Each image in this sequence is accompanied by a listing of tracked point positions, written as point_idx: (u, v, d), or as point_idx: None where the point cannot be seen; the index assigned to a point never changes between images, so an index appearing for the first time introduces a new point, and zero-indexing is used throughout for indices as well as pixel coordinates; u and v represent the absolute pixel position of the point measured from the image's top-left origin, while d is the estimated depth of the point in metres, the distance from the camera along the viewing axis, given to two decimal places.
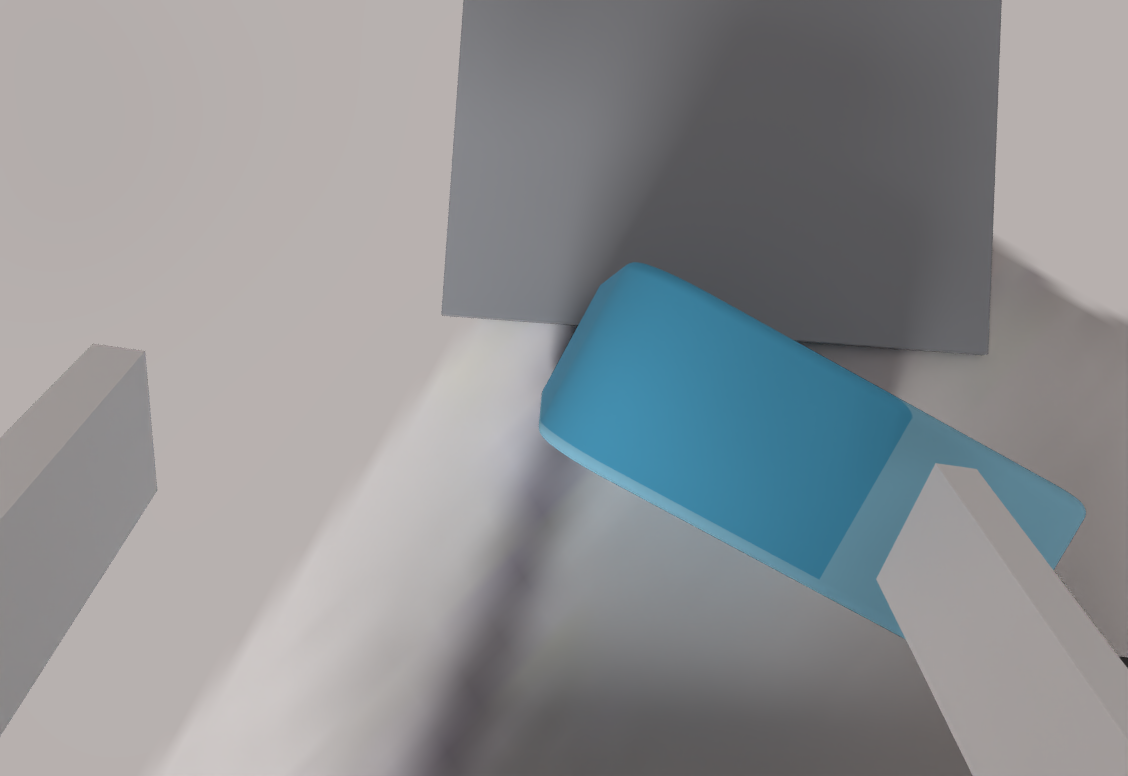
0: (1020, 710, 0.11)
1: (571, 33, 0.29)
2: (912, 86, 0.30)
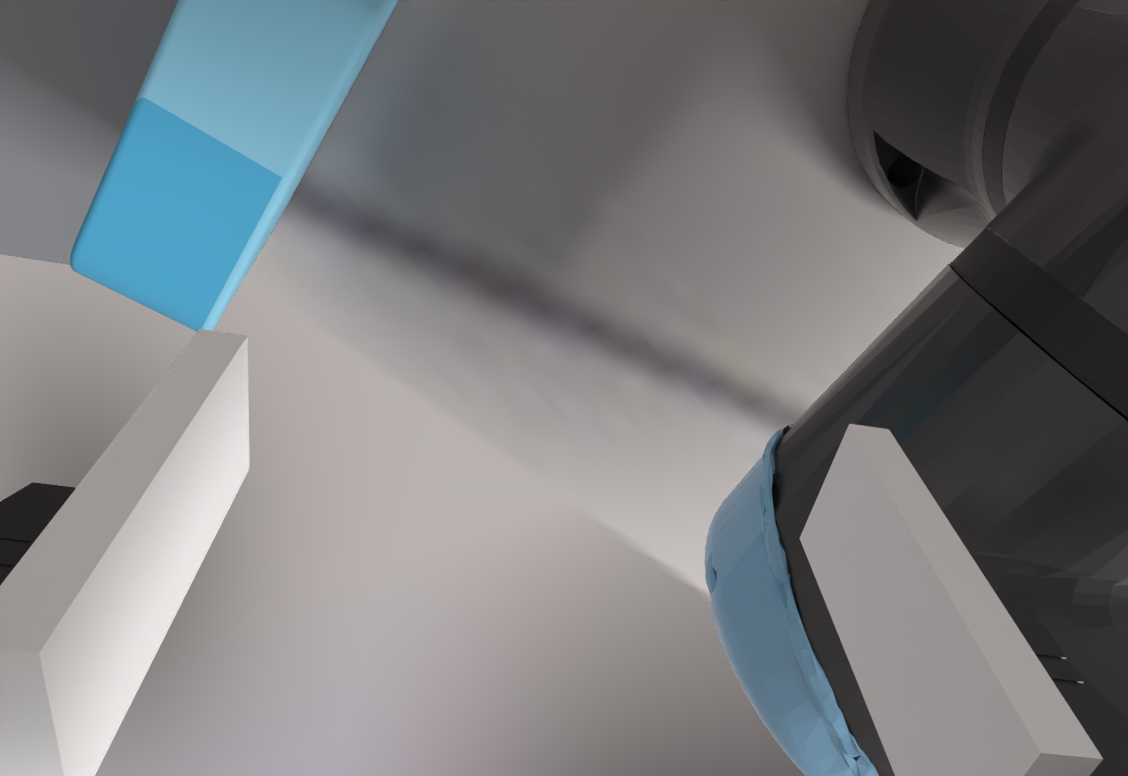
0: (908, 648, 0.12)
1: None
2: None
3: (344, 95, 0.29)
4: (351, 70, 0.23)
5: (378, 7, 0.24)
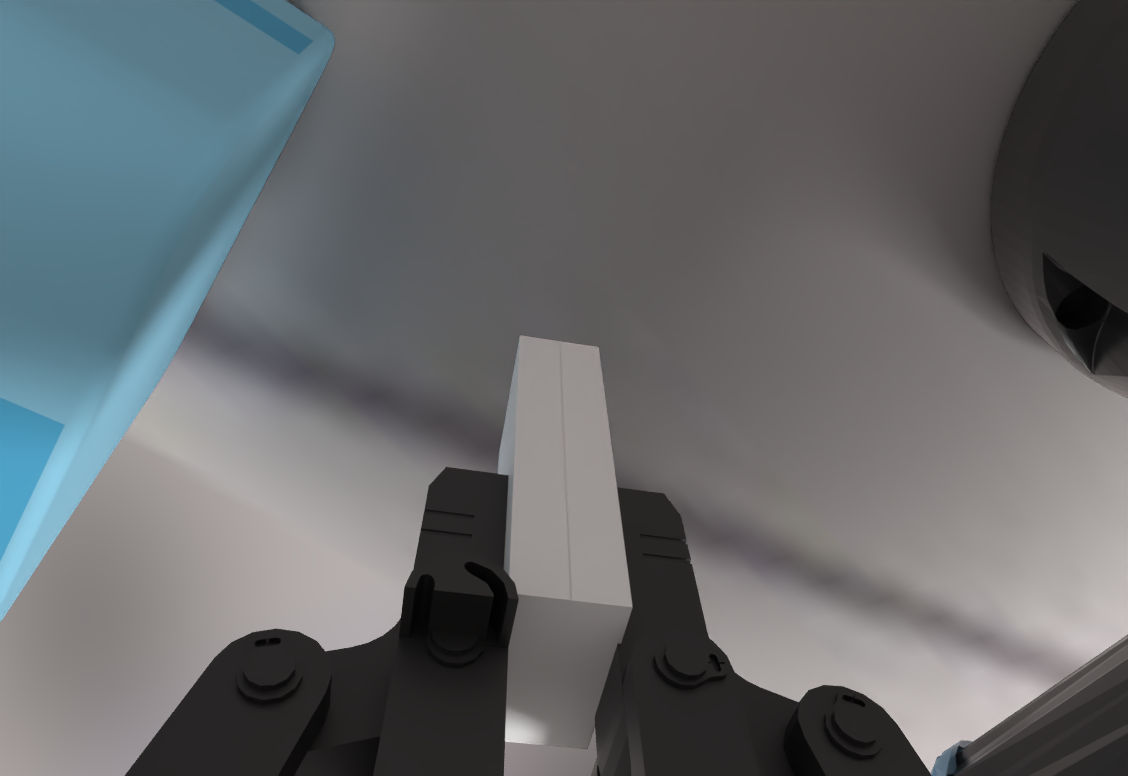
0: None
1: None
2: None
3: (229, 222, 0.18)
4: (175, 242, 0.12)
5: (239, 112, 0.13)
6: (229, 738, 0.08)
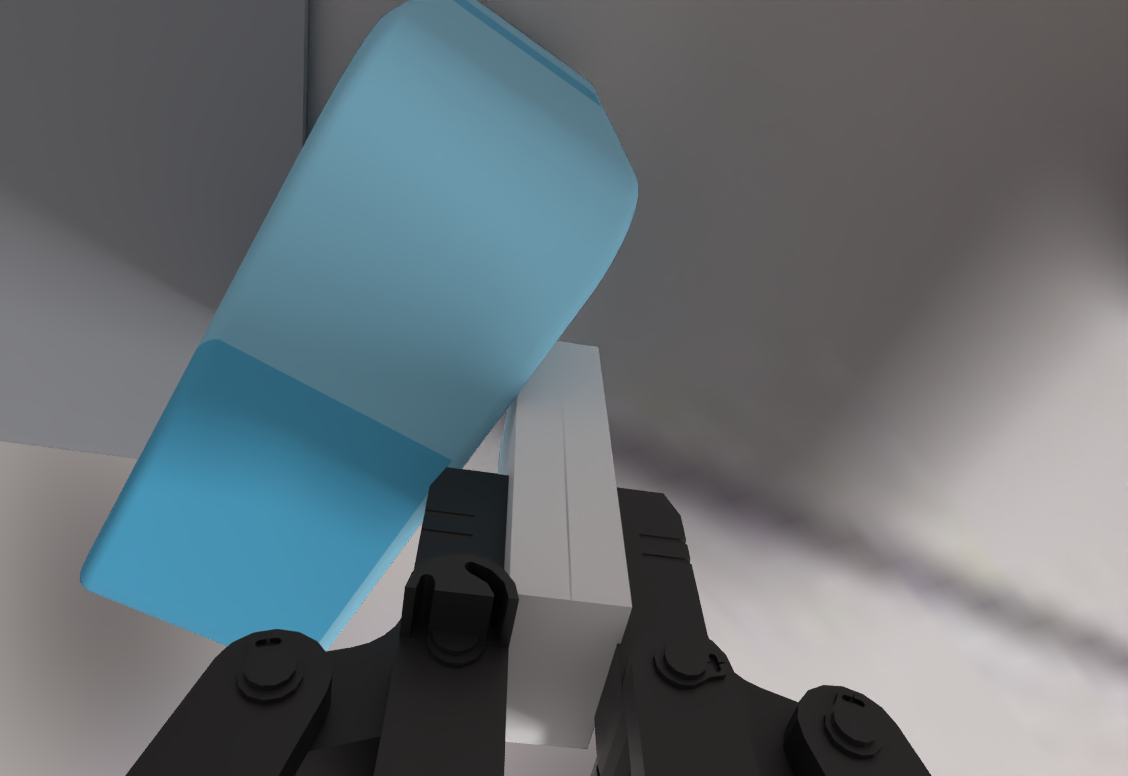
0: None
1: None
2: None
3: None
4: (595, 286, 0.12)
5: (629, 163, 0.13)
6: (230, 738, 0.08)
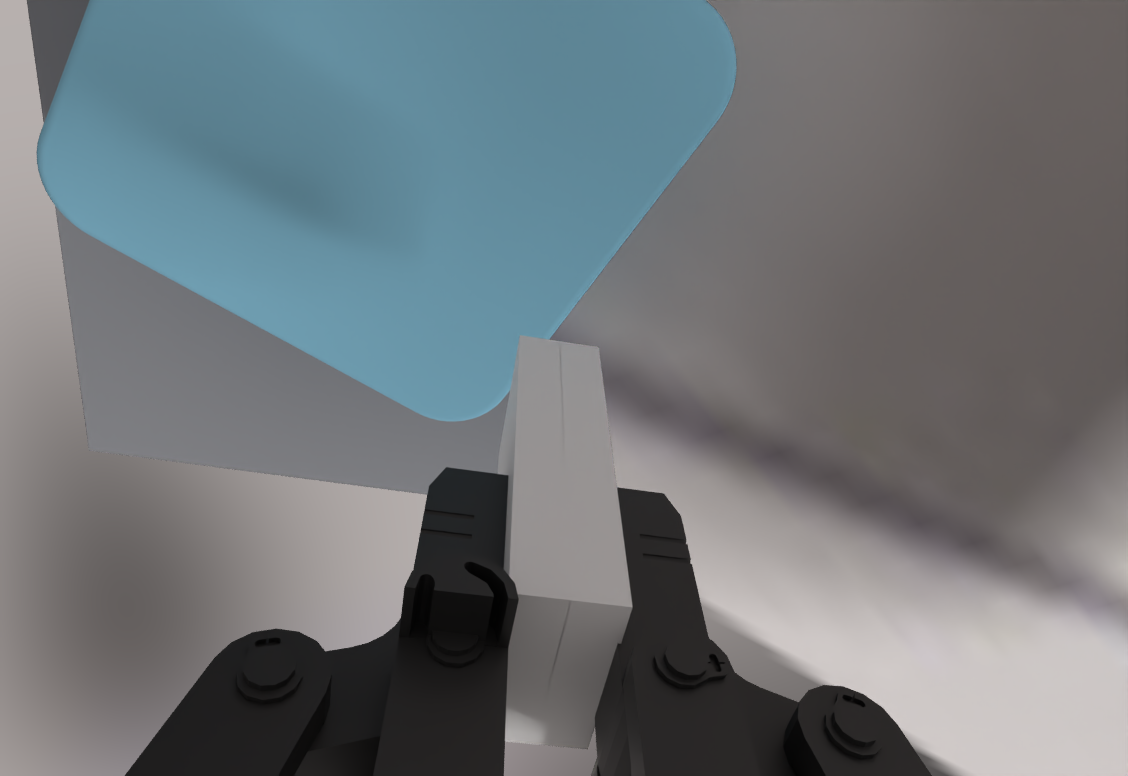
0: None
1: (193, 365, 0.26)
2: None
3: (457, 70, 0.17)
4: None
5: None
6: (230, 738, 0.08)
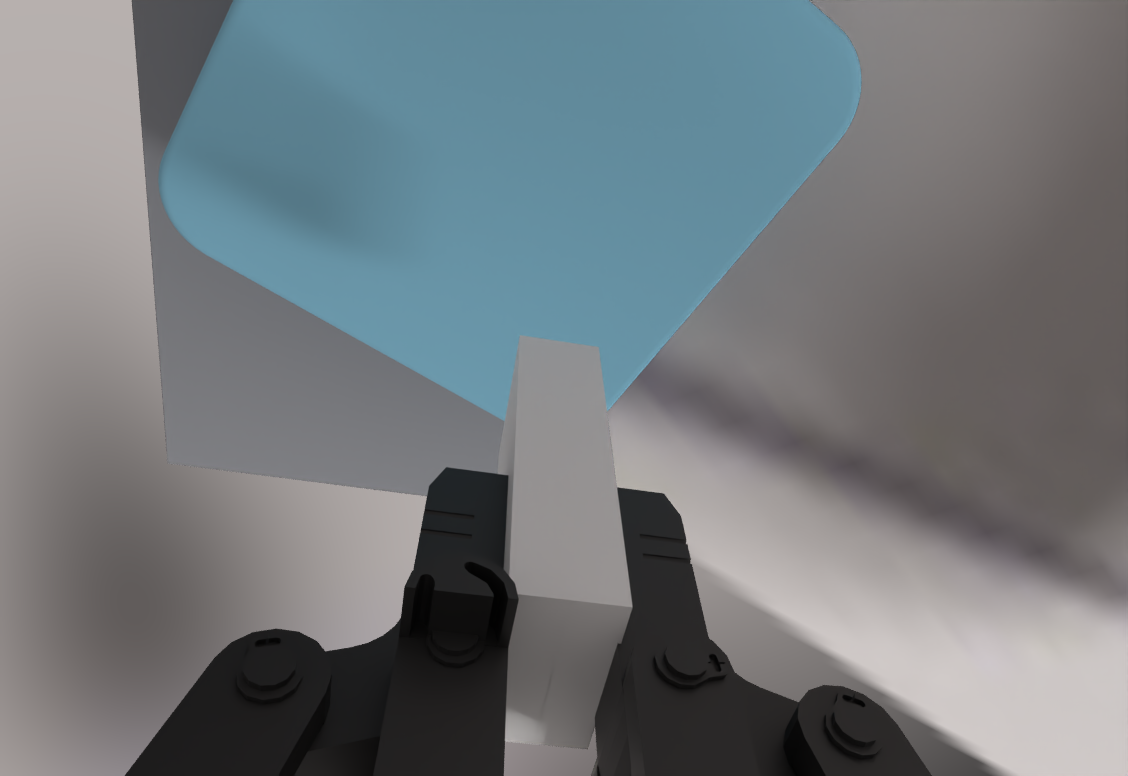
0: None
1: (277, 378, 0.26)
2: None
3: (585, 92, 0.17)
4: None
5: None
6: (229, 738, 0.08)
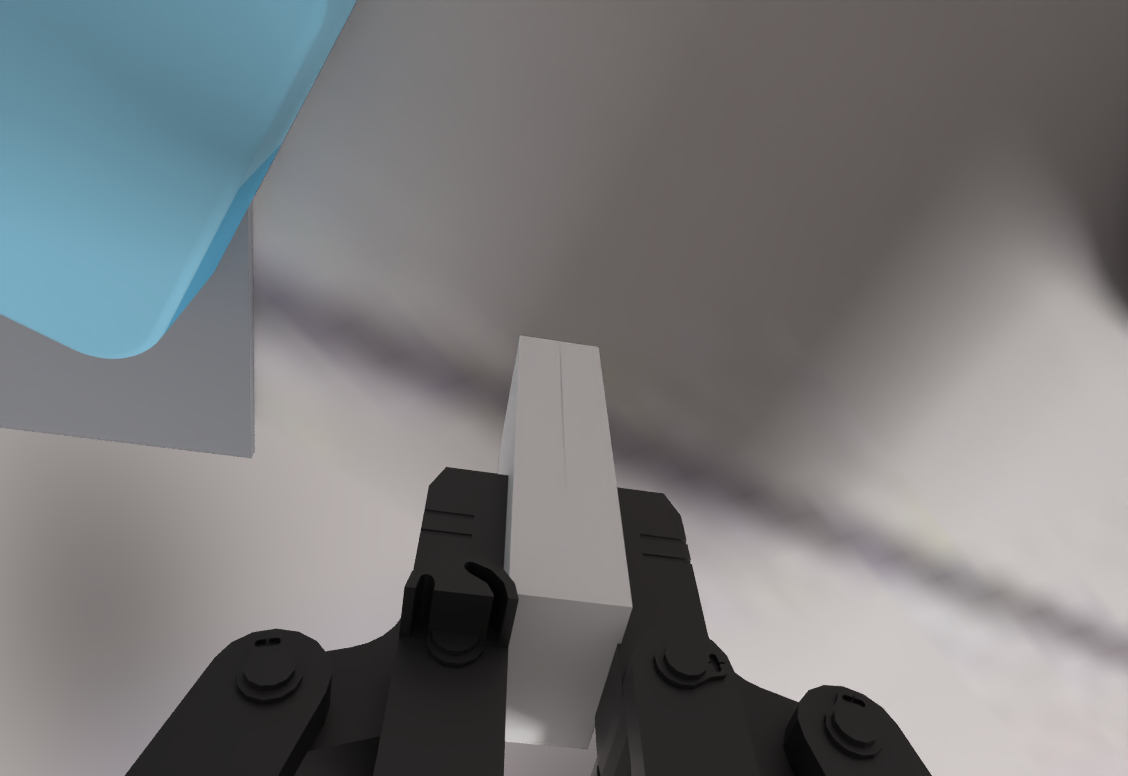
0: None
1: None
2: None
3: None
4: None
5: None
6: (229, 738, 0.08)
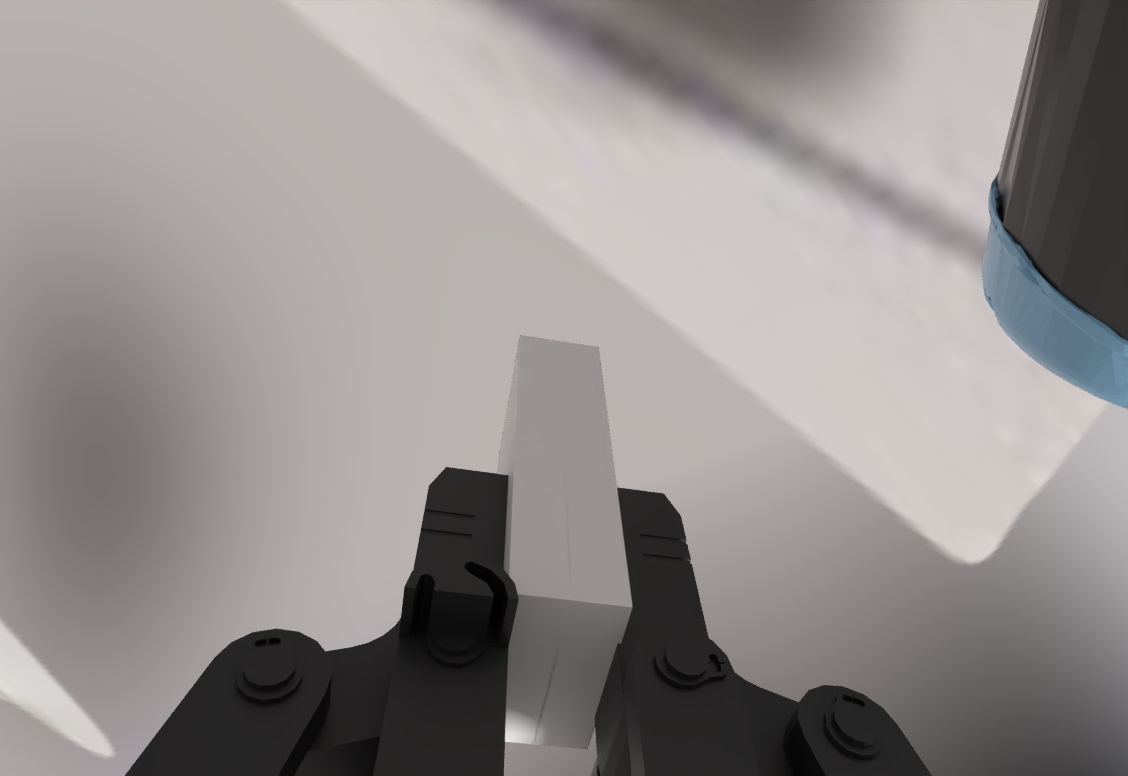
0: None
1: None
2: None
3: None
4: None
5: None
6: (229, 738, 0.08)
